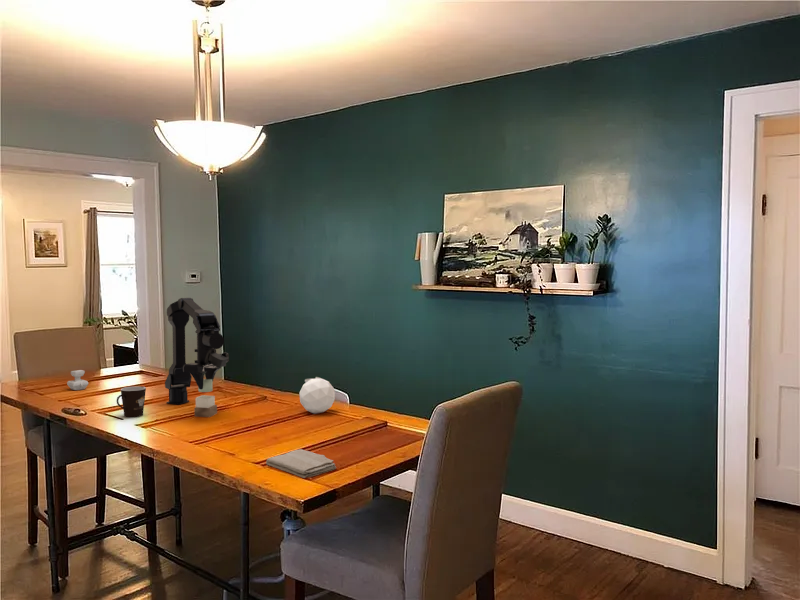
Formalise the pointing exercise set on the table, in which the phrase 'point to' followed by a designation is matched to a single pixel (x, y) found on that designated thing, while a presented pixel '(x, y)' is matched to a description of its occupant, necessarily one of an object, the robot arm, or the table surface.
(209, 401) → the tower top block
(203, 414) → the tower base block
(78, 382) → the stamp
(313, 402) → the geodesic sphere
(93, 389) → the table surface
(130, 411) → the coffee mug
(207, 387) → the grey domed cylinder
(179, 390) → the robot arm
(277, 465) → the washcloth
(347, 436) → the table surface
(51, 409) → the table surface
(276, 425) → the table surface
